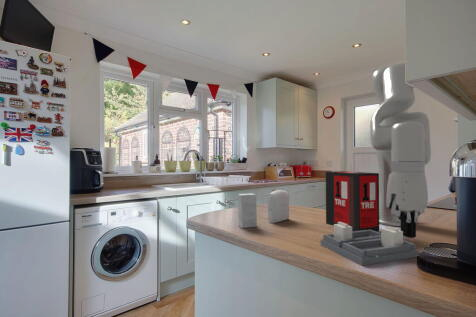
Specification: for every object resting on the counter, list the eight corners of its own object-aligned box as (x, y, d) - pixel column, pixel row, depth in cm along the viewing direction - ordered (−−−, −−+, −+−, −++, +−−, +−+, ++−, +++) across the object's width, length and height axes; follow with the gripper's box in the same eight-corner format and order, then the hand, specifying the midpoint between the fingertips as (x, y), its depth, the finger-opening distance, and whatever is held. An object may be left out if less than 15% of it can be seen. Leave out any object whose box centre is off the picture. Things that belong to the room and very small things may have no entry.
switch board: (370, 238, 82) (370, 228, 82) (419, 256, 67) (419, 244, 67) (320, 244, 77) (320, 234, 77) (361, 265, 61) (361, 252, 61)
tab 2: (389, 244, 72) (389, 225, 72) (403, 248, 68) (403, 228, 68) (381, 245, 71) (381, 226, 71) (394, 250, 67) (394, 229, 67)
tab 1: (342, 239, 77) (342, 221, 77) (352, 243, 73) (352, 224, 73) (333, 240, 76) (333, 221, 76) (343, 244, 72) (343, 225, 72)
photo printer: (275, 223, 102) (274, 191, 102) (266, 221, 105) (266, 190, 105) (290, 219, 109) (290, 189, 109) (282, 217, 112) (282, 188, 112)
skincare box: (252, 224, 101) (252, 193, 101) (257, 226, 97) (256, 194, 97) (237, 225, 100) (237, 193, 100) (241, 228, 96) (241, 195, 96)
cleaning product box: (379, 232, 89) (378, 173, 90) (358, 234, 86) (358, 173, 87) (344, 221, 105) (344, 171, 105) (326, 223, 102) (325, 171, 102)
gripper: (415, 167, 77) (415, 230, 77) (374, 168, 72) (375, 235, 72) (441, 168, 70) (442, 237, 70) (398, 169, 65) (399, 243, 65)
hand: (408, 236), depth 71 cm, fingers closed
